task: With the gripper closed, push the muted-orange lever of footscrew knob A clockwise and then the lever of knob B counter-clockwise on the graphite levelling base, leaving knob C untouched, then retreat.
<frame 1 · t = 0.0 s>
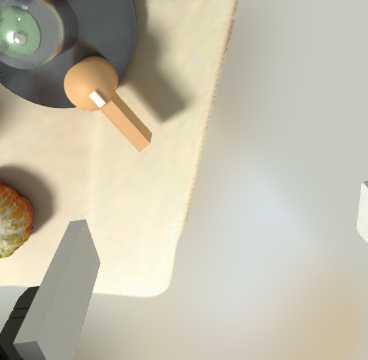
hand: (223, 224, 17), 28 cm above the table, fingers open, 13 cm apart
knob a: (112, 105, 38), point 4 cm above the table, hinge at 0.0°
fruit: (2, 207, 49), on the table
levelling base: (54, 23, 38), on the table
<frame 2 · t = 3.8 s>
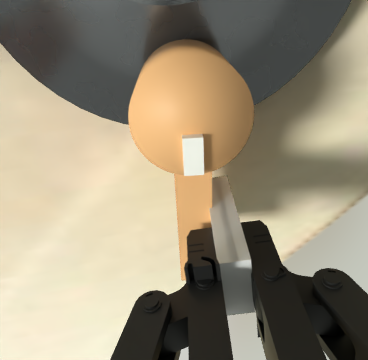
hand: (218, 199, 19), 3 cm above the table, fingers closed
knob a: (191, 169, 16), point 4 cm above the table, hinge at -5.1°, touching gripper
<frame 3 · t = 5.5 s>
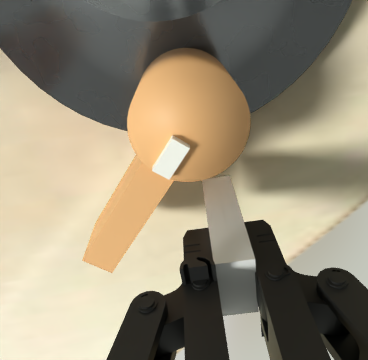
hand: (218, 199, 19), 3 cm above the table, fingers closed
knob a: (153, 167, 16), point 4 cm above the table, hinge at -40.0°
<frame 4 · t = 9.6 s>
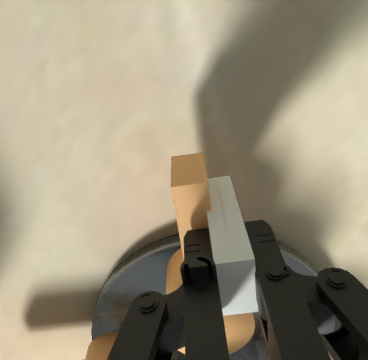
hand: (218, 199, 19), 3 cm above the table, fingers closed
knob b: (201, 259, 19), point 4 cm above the table, hinge at 0.1°, touching gripper
levelling base: (211, 322, 27), on the table
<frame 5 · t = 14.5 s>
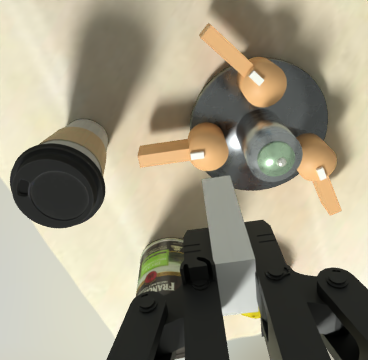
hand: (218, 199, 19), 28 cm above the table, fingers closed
knob b: (241, 64, 39), point 4 cm above the table, hinge at 42.0°
coffee cup: (87, 139, 47), on the table
knob a: (319, 176, 46), point 4 cm above the table, hinge at -40.1°
coffee can: (170, 261, 58), on the table
knob c: (183, 150, 43), point 4 cm above the table, hinge at 0.0°
levelling base: (256, 127, 47), on the table
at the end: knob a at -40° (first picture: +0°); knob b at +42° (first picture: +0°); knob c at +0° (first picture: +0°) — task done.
